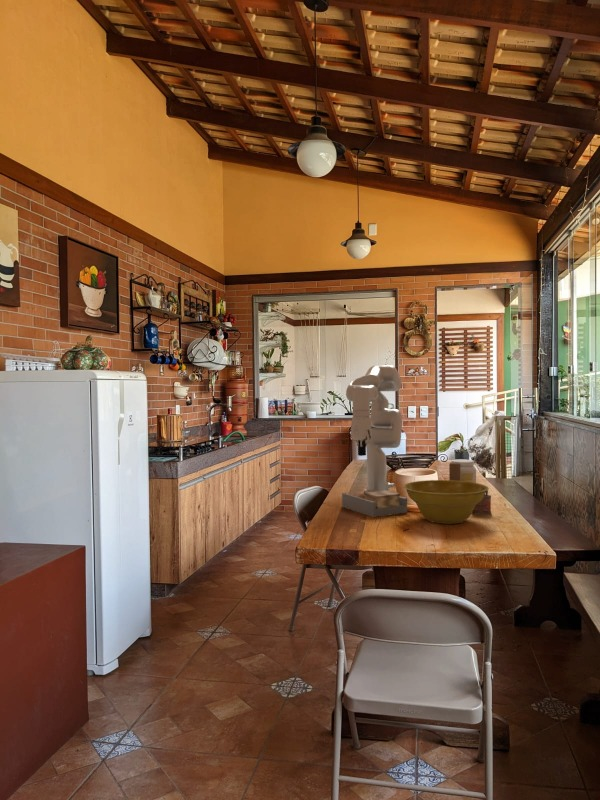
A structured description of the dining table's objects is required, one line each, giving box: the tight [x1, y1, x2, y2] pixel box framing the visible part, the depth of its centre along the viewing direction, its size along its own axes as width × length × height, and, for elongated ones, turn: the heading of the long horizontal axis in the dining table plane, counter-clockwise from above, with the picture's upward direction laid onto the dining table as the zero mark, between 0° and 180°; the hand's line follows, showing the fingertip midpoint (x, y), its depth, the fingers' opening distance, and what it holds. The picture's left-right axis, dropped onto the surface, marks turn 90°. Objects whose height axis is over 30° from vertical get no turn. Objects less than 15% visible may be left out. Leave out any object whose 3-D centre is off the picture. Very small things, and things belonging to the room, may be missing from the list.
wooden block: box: [448, 462, 461, 481], centre depth 252 cm, size 9×4×18 cm, turn 70°
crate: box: [363, 490, 401, 509], centre depth 236 cm, size 11×9×6 cm
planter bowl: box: [403, 479, 489, 525], centre depth 222 cm, size 32×32×13 cm
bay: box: [341, 490, 408, 518], centre depth 242 cm, size 17×23×6 cm
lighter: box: [471, 489, 492, 515], centre depth 233 cm, size 8×3×10 cm, turn 65°
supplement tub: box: [450, 458, 477, 483], centre depth 270 cm, size 12×12×17 cm
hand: (361, 455), depth 252 cm, fingers closed
